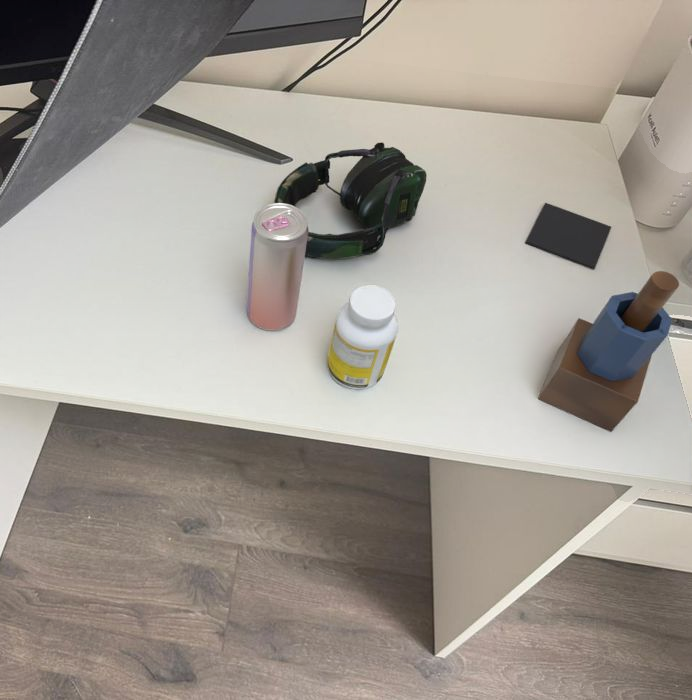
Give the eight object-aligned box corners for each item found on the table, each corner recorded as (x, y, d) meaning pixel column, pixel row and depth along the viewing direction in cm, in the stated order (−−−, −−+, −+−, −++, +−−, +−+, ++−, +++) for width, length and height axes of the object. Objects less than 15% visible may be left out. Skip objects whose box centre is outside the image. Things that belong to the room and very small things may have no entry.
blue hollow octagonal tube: (641, 350, 75) (675, 308, 70) (629, 389, 72) (664, 347, 67) (586, 328, 77) (615, 284, 71) (572, 364, 74) (601, 322, 68)
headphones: (362, 127, 98) (245, 195, 94) (417, 106, 86) (285, 184, 82) (402, 213, 102) (290, 283, 97) (460, 205, 89) (335, 285, 85)
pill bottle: (375, 343, 83) (396, 275, 74) (389, 389, 79) (413, 323, 70) (320, 348, 82) (335, 280, 73) (332, 394, 78) (349, 328, 69)
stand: (627, 380, 80) (718, 270, 66) (611, 432, 76) (704, 326, 62) (557, 350, 83) (630, 238, 68) (537, 399, 79) (611, 290, 64)
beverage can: (238, 304, 86) (242, 210, 74) (281, 289, 88) (292, 195, 76) (260, 339, 83) (268, 247, 71) (304, 323, 84) (320, 231, 73)
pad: (610, 228, 95) (611, 226, 95) (593, 269, 91) (595, 267, 90) (544, 204, 98) (545, 202, 98) (524, 243, 93) (526, 241, 93)
